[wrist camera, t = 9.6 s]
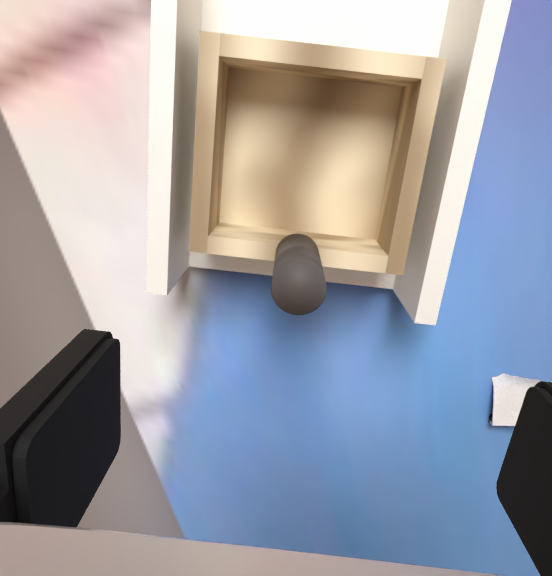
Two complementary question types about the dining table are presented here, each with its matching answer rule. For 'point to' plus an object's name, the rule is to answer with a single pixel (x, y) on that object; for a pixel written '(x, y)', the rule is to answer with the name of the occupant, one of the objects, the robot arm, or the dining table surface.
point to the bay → (335, 32)
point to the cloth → (508, 398)
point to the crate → (309, 157)
